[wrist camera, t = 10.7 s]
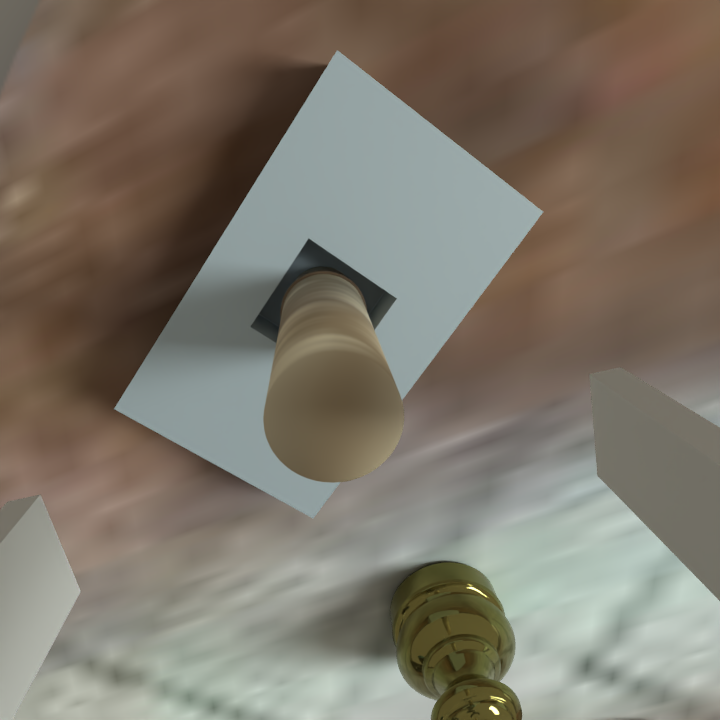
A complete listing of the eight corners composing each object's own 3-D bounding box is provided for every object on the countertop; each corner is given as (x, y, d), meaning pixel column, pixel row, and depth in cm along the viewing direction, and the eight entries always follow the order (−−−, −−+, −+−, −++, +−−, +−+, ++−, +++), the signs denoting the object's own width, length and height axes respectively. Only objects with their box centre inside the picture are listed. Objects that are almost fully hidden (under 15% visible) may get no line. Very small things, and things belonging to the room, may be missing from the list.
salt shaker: (505, 562, 40) (567, 686, 30) (483, 651, 42) (534, 793, 33) (397, 554, 39) (426, 680, 29) (381, 646, 41) (402, 790, 32)
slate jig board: (312, 481, 37) (313, 518, 33) (135, 381, 34) (114, 409, 30) (516, 206, 32) (543, 211, 29) (333, 64, 30) (337, 50, 26)
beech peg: (278, 332, 32) (252, 478, 17) (288, 255, 31) (268, 340, 16) (354, 341, 33) (394, 492, 18) (366, 266, 32) (420, 359, 17)
